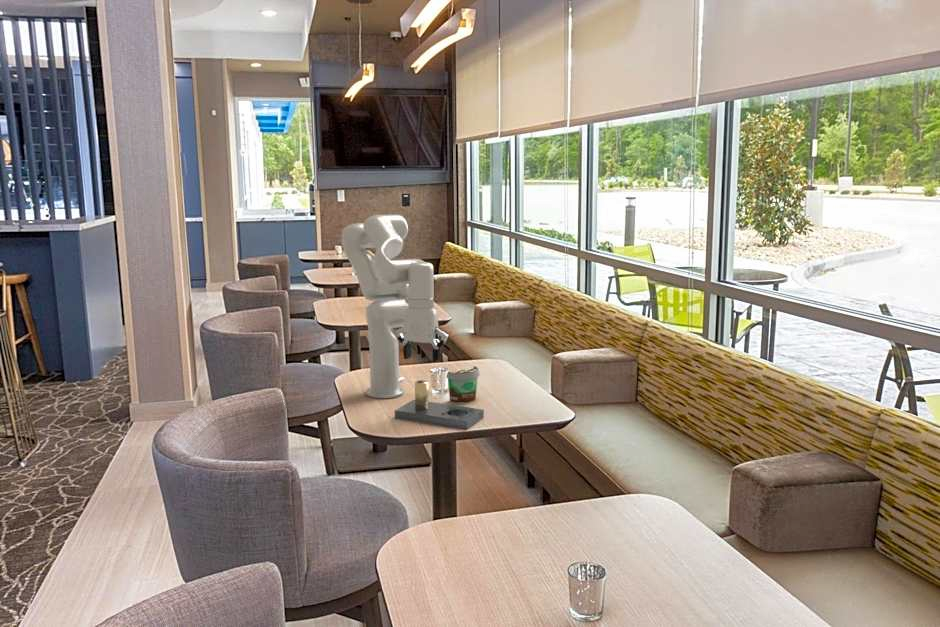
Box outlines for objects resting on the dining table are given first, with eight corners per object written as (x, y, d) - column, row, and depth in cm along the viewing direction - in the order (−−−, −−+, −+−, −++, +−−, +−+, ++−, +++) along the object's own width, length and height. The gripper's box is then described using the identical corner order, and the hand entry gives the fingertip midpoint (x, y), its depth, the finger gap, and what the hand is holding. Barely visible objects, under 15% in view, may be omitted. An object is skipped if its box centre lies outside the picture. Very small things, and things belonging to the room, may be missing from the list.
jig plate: (413, 407, 244) (413, 399, 243) (483, 417, 234) (483, 409, 234) (394, 418, 233) (394, 410, 233) (467, 429, 223) (467, 421, 223)
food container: (458, 406, 245) (458, 375, 243) (446, 401, 250) (446, 371, 248) (487, 398, 253) (487, 369, 251) (474, 394, 258) (475, 365, 256)
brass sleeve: (419, 404, 238) (418, 379, 237) (430, 406, 236) (430, 380, 235) (412, 408, 235) (412, 382, 233) (424, 410, 233) (424, 383, 231)
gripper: (389, 303, 230) (390, 359, 233) (441, 307, 223) (441, 365, 226) (402, 300, 236) (402, 354, 239) (452, 303, 229) (453, 360, 232)
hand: (421, 359), depth 232 cm, fingers open, 9 cm apart
